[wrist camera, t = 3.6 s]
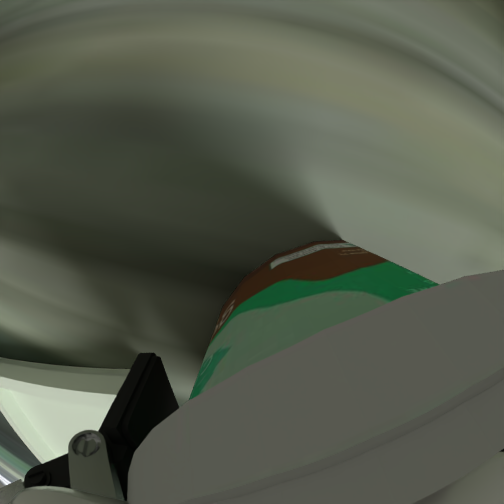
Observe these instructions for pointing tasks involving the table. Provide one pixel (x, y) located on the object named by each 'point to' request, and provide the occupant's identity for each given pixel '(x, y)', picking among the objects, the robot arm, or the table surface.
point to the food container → (335, 388)
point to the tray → (55, 402)
